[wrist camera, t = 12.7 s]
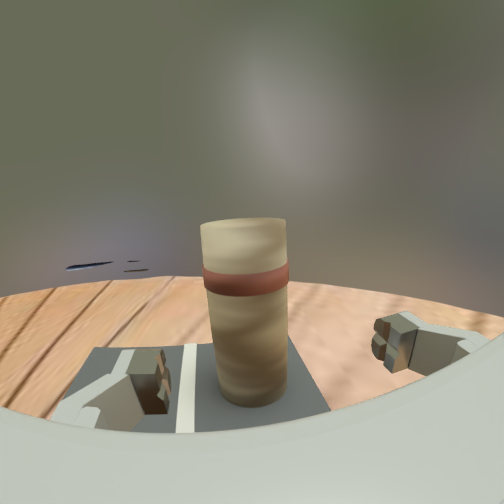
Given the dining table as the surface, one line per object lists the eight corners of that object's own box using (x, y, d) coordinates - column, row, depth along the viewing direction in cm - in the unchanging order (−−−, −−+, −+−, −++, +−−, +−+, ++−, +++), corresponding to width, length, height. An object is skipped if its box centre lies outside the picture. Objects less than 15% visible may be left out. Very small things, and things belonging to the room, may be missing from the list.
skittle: (220, 412, 16) (196, 232, 13) (217, 369, 21) (200, 221, 18) (296, 401, 17) (298, 224, 14) (279, 361, 22) (275, 215, 19)
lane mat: (45, 452, 10) (38, 442, 10) (96, 355, 24) (93, 346, 23) (344, 446, 13) (347, 436, 13) (287, 342, 26) (287, 332, 26)
